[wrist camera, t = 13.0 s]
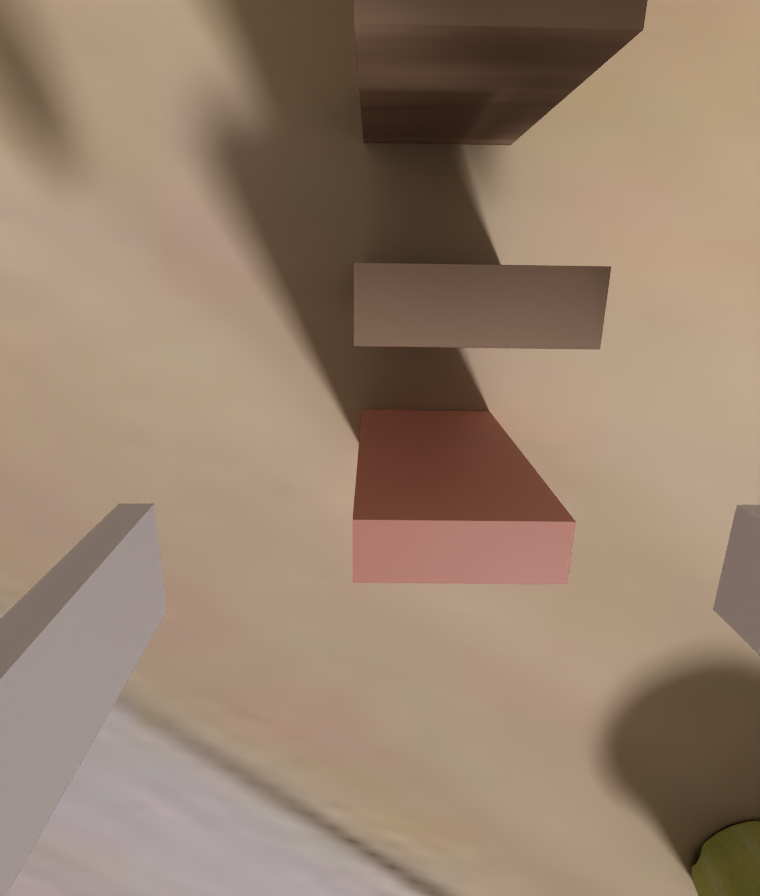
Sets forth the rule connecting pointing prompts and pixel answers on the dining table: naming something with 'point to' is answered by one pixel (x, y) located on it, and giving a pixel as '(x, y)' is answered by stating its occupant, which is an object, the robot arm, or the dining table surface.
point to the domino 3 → (453, 504)
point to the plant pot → (730, 862)
